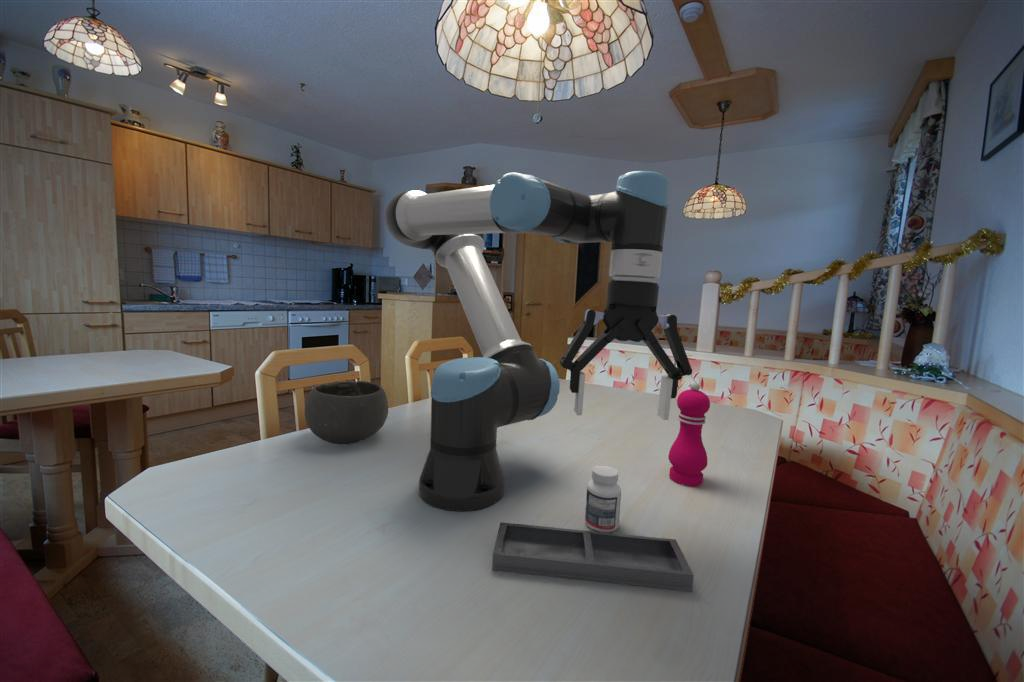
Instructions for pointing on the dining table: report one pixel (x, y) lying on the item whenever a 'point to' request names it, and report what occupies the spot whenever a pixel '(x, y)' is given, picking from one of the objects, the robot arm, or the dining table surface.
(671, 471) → the pepper mill
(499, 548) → the tray
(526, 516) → the dining table surface
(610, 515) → the pill bottle
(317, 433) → the bowl
